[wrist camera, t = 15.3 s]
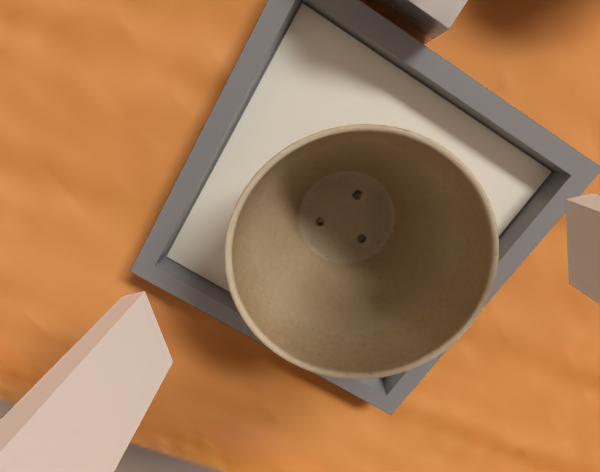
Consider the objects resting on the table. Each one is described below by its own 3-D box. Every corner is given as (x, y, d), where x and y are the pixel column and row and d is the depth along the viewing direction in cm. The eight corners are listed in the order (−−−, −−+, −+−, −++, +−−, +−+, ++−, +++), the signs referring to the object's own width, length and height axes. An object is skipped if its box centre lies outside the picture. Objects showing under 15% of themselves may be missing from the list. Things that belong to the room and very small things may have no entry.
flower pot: (352, 331, 23) (365, 422, 17) (218, 223, 22) (171, 275, 15) (482, 207, 21) (561, 255, 14) (341, 74, 19) (352, 56, 12)
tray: (146, 257, 23) (130, 271, 21) (295, -30, 19) (292, -47, 17) (385, 391, 25) (390, 415, 23) (575, 162, 21) (603, 168, 19)
